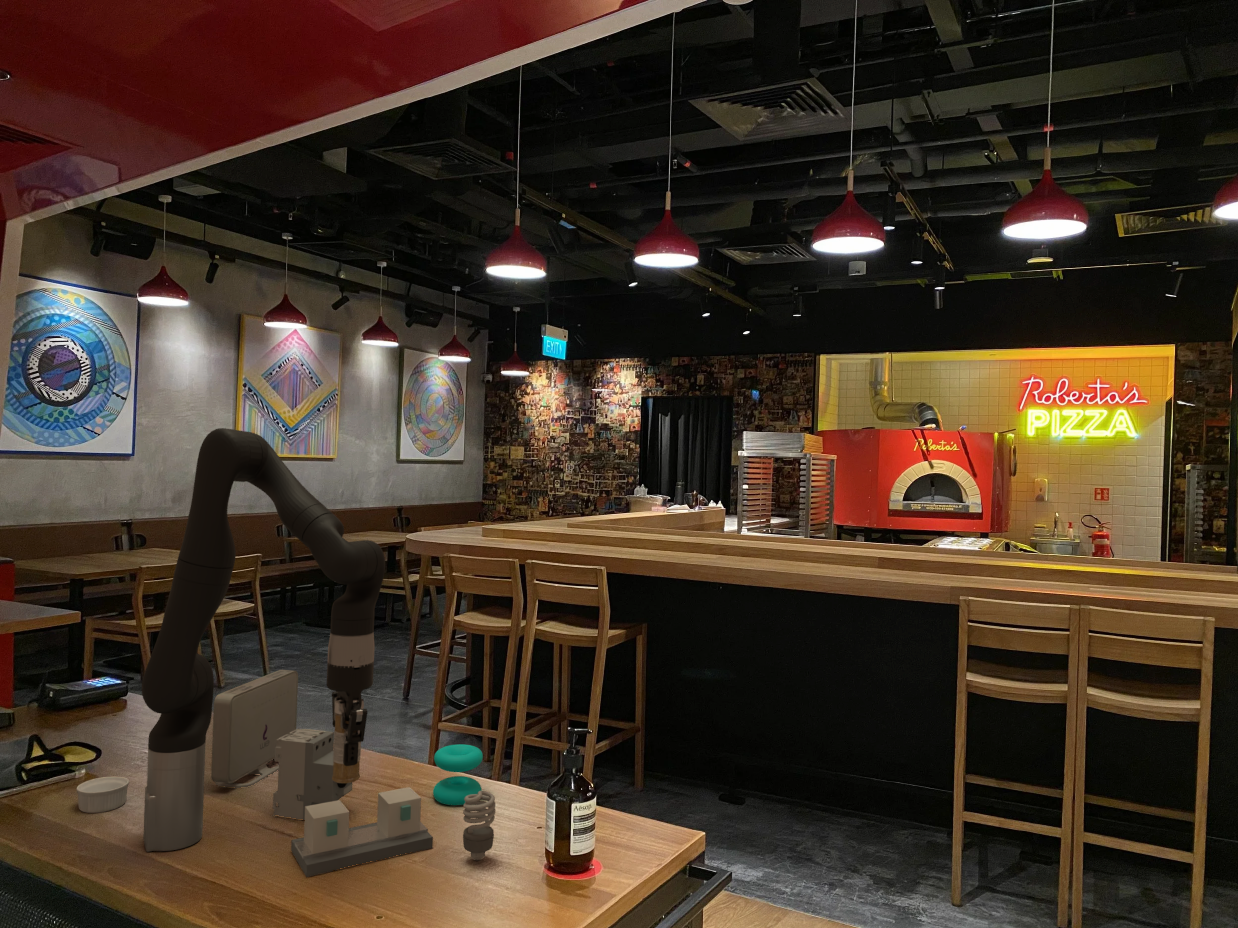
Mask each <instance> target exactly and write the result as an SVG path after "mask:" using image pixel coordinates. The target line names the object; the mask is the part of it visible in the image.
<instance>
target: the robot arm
mask: <svg viewBox="0 0 1238 928" xmlns="http://www.w3.org/2000/svg"><path fill="white" fill-rule="evenodd" d="M234 482H239V483H246V482H247V483H249V484H251V485H253V486H255V487H256V488H258V490H261V491H262V492H263V493H265V494H266V495H267V496H268V498H270V500H271V501H272V502H273V504H274V507H275V510H276V512H277V515H278V517H279V520H280V521H281V522H282V524H283V526H285V528H287V530H288V531H289V532H290V533H291V534H292V535H293V536H295V538H296V539H298V540H299V542H301V543H302V544H303V545H304V546H305V547H306V548H308V549H309V551H310V553H311V555H312V557H313V558H314V561H316V563H317V565H318V567H319V569H320V570H321V571H322V573H323V574H324V575H325V576H326V577H327V578H329V580H331V581H333V582H335V583H336V584H340V585H347V586H346V589H345V592H344V593H343V594H342V595H341V596H339V597H338V598H337V599H335V600H334V601H333V603H332V606H331V611H330V612H331V614H330V630H329V631H330V632H329V633H330V634H329V640H328V648H327V666H326V687H327V688H328V689H329V690H331V691H332V692H331V701H332V702H331V703H332V704H331V706H332V709H331V710H332V711H331V712H332V723H331V725H332V726H333V728H335V701H338V700H342V701H339V711H340V712H341V714H340V727H341V729H343V730H344V755H343V764H344V765H345V766H351V765H356V764H357V762H358V742H361V743H362V742H364V741H365V740H364V739H365V732H366V725H367V718H368V712H369V711H368V710H367V708H365V703H364V698H362V692H363V691H365V690H368V689H370V688H371V687H372V686H373V685H374V667H375V637H374V635H375V634H374V633H375V632H374V631H375V630H374V629H375V608H376V605H377V604H376V603H377V601H378V599H379V596H380V592H381V589H382V585H383V581H384V578H385V573H386V572H385V571H386V558H385V554H384V551H383V549H382V547H381V545H379V544H378V543H377V542H376V541H373V540H369V539H367V540H366V539H364V540H363V539H362V540H355V541H353V540H352V541H348V540H346V539H345V538H344V533H345V527H344V523H343V522H342V521H341V520H340V519H339V517H337V515H335V514H334V513H333V512H332V511H331V510H329V508H327V506H325V505H324V504H323V503H322V502H320V500H319V499H317V498H316V497H315V496H314V495H313V494H312V493H311V492H310V491H309V490H308V489H307V488H306V487H305V486H304V485H303V484H302V483H301V482H300V480H299V479H298V478H297V477H296V476H295V475H294V474H293V473H292V471H291V470H290V469H289V468H288V466H287V465H286V464H285V463H284V461H283V460H282V459H281V457H280V456H279V455H278V454H277V452H276V451H275V449H274V448H273V447H272V446H271V445H270V444H269V442H268V441H267V440H266V439H265V438H264V437H263V436H261V435H259V434H257V433H255V432H252V431H247V430H246V431H245V430H239V429H234V428H233V429H232V428H226V427H225V428H224V427H223V428H221V427H220V428H215V429H213V430H212V431H210V432H209V433H208V434H206V436H205V437H204V439H203V441H202V443H201V445H200V447H199V451H198V455H197V461H196V467H195V475H194V481H193V488H192V489H193V490H192V496H191V504H190V507H189V512H188V517H187V522H186V526H185V530H184V535H183V539H182V543H181V547H180V549H179V553H178V555H177V556H178V557H177V561H176V564H175V569H174V573H173V577H172V582H171V586H170V591H169V595H168V598H167V602H166V605H165V609H164V610H165V611H164V613H163V618H162V622H161V625H160V629H159V632H158V634H157V635H158V636H157V638H156V641H155V644H154V646H153V649H152V652H151V654H150V657H149V660H148V663H147V664H146V665H147V666H146V669H145V671H144V673H143V676H142V681H141V695H142V700H143V701H144V704H145V705H146V706H147V707H148V708H149V710H151V711H152V712H154V713H155V714H156V713H157V714H160V716H159V718H158V720H157V722H155V723H156V724H155V725H154V726H153V727H152V728H151V730H150V731H149V734H148V744H147V745H148V746H147V747H148V748H147V767H146V768H147V769H146V770H147V772H146V786H145V788H144V808H143V810H144V812H143V837H142V838H143V839H142V840H143V843H144V848H145V852H146V853H149V852H152V851H154V852H155V851H156V852H169V851H174V850H175V851H177V850H180V849H185V848H187V847H190V846H192V845H194V844H195V845H196V843H198V842H200V840H201V839H202V838H203V827H204V799H205V797H204V795H205V793H204V792H205V773H206V772H205V767H206V766H205V765H206V744H207V743H206V740H207V732H208V730H209V728H210V725H211V722H212V716H213V715H212V714H213V713H212V712H213V704H214V687H215V684H214V683H215V682H214V681H215V680H214V679H215V676H214V671H213V668H212V665H211V663H210V662H209V661H208V659H207V658H206V657H205V656H203V655H201V654H200V653H198V650H199V646H200V644H201V640H202V637H203V636H204V634H205V631H206V630H207V628H208V626H209V624H210V622H211V621H212V619H213V617H214V616H215V614H216V613H217V611H218V610H219V608H220V606H221V604H222V602H223V601H224V599H225V597H226V595H227V593H228V589H229V587H230V583H231V579H232V575H233V570H234V568H235V563H236V557H237V556H236V554H237V551H236V545H235V540H234V537H233V533H232V530H231V526H230V523H229V519H228V510H229V509H228V507H229V501H230V495H231V492H232V488H233V484H234ZM345 720H346V721H349V724H346V722H345ZM354 731H356V735H352V734H353V732H354Z"/></svg>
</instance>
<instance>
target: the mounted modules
mask: <svg viewBox="0 0 1238 928" xmlns="http://www.w3.org/2000/svg"><path fill="white" fill-rule="evenodd" d="M421 810H422V797H421V796H420V794H418V793H417V792H415V790H414V789H412V788H411V787H410V786H408V787H402V788H397V789H391V790H387V791H386V790H385V791H381V792H378V794H377V815H376V817H377V819H376V822H377V826H378V827H379V828H380V829H381V831H382V832H383V833H384V834H385V835H386V836H387V838H389V837H394V836H398V835H403V834H408V833H412V832H417V831H420V822H421V817H422V816H421V812H422V811H421ZM349 828H350V811H349V809H348V808H347V807H346V805H344V804H343V802H342V801H341V799H339V800H337V801H332V802H326V803H321V804H316V805H310V806H305V821H304V826H303V837H304V842H305V843H306V845H307V846H308V848H309V849H310V851H311V853H312V854H316V853H320V852H325V851H329V850H334V849H339V848H343V847H348V837H349Z"/></svg>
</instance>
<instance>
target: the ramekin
mask: <svg viewBox="0 0 1238 928" xmlns="http://www.w3.org/2000/svg"><path fill="white" fill-rule="evenodd" d="M129 784H130V779H129V778H127V777H123V776H104V777H103V776H102V777H97V778H93V779H89V780H86V781H84V782H82V783H80V784H78V786H77V787H76V793H77V800H78V801H77V802H78V809H79V811H81V812H83V813H88V814H97V813H98V814H99V813H104V812H109V811H113V810H115V809H118V808H120V807H122V806H123V805H124V804H125V803H126V801H127V795H128V787H129Z"/></svg>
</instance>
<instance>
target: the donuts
mask: <svg viewBox="0 0 1238 928" xmlns="http://www.w3.org/2000/svg"><path fill="white" fill-rule="evenodd" d="M483 755H484V754H483V752H482V750H481V749H480V748H479V747H477V746H474V745H472V744H471V745H470V744H462V743H461V744H459V743H458V744H449V745H446V746H443V747H441V748H439V749H438V750H437V751H436V752H435V753H434V756H433V760H434V763H435V765H436V767H438V768H439V769H440V770H442V771H445V772H451V773H463V772H468V771H471V770H474V769H476V768H477V767H479V766H480V764H481V763H482V761H483V758H484V756H483ZM482 788H483V787H482V785H481V784H480V782H479V781H477V780H476V779H474V778H472V777H469V776H465V775H456V776H455V775H454V776H449V777H446V778H443V779H441V780H440V781H438V782H437V783H436V784H435V785H434V787H433V790H432V795H433V798H434V799H435V800H436V801H437V802H438V803H439V804H442V805H447V806H464V803H465V800H464V799H465V797H466V796H467V795H472V794H478V792H479V791H483V789H482Z"/></svg>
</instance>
